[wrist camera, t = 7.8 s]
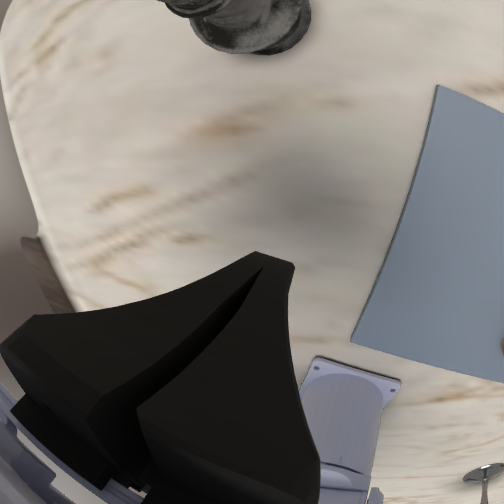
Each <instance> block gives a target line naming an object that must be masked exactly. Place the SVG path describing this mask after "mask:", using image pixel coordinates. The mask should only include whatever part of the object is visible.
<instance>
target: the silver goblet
mask: <svg viewBox="0 0 504 504" xmlns="http://www.w3.org/2000/svg"><path fill="white" fill-rule="evenodd" d="M503 472H504V464H503V463H498V464H491V465H487V466H483V467H480V468H478V469H475V470H473V471H471V472H469V473H468V474H466V475H465V476H464V477H463V481H464V482H465V483H480V482H482V498H481V503H480V504H488V497H487V484H488V480H490V479H493V478H495V477H497V476H499V475H500V474H502V473H503Z"/></svg>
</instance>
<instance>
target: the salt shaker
mask: <svg viewBox="0 0 504 504" xmlns="http://www.w3.org/2000/svg"><path fill="white" fill-rule="evenodd" d="M158 1H161V2H165V4H166V6H167V8H168V9H169V10H171V11H172V12H173V13H174V14H176V15H178V16H181V17H183V18H189V20H190V25H191V27H192V28H193V30H194V32H195V34H196V35H197V36H198V37H199V38H200V39H201V40H202V41H203V42H204V43H205V44H206V45H208V46H210V47H212V48H214V49H216V50H218V51H223V52H227V53H231V54H237V53H252V54H256V55H272V54H277V53H281V52H283V51H285V50H287V49H290V48H292V47H293V46H294V45H295V44H296V43H298V42H299V41H300V40H301V39H302V37H303V36H304V35H305V33H306V32H307V30H308V27H309V24H310V21H311V9H310V5H309V1H308V0H158Z"/></svg>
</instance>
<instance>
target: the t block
mask: <svg viewBox="0 0 504 504" xmlns="http://www.w3.org/2000/svg"><path fill="white" fill-rule="evenodd" d="M500 345H501V348H502V352H503V355H504V339H503V340H502V341H501V343H500Z"/></svg>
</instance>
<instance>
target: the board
mask: <svg viewBox="0 0 504 504" xmlns="http://www.w3.org/2000/svg"><path fill="white" fill-rule="evenodd" d="M503 339H504V114H503V113H501V112H499V111H497V110H495V109H493V108H491V107H489V106H487V105H485V104H483V103H480V102H478V101H476V100H474V99H472V98H470V97H467V96H465V95H463V94H460V93H458V92H456V91H453V90H451V89H448V88H446V87H443V86H441V85H437V86H436V91H435V96H434V101H433V106H432V110H431V115H430V119H429V123H428V127H427V131H426V135H425V139H424V143H423V147H422V150H421V154H420V158H419V161H418V165H417V168H416V172H415V175H414V178H413V182H412V185H411V188H410V191H409V194H408V197H407V200H406V203H405V206H404V209H403V212H402V215H401V218H400V221H399V224H398V227H397V229H396V232H395V235H394V238H393V240H392V243H391V246H390V248H389V251H388V253H387V256H386V258H385V261H384V264H383V266H382V268H381V271H380V273H379V276H378V278H377V281H376V283H375V285H374V288H373V290H372V292H371V295H370V297H369V299H368V301H367V304H366V306H365V308H364V310H363V312H362V315H361V317H360V319H359V321H358V323H357V325H356V327H355V329H354V332H353V334H352V336H351V340H350V342H352V343H355V344H359V345H362V346H365V347H368V348H372V349H375V350H378V351H382V352H385V353H389V354H392V355H395V356H399V357H402V358H406V359H410V360H413V361H417V362H420V363H424V364H428V365H431V366H435V367H439V368H443V369H447V370H451V371H454V372H458V373H462V374H466V375H471V376H475V377H479V378H483V379H487V380H492V381H496V382H500V383H504V355H503V352H502V348H501V345H500V343H501V341H502V340H503Z"/></svg>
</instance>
